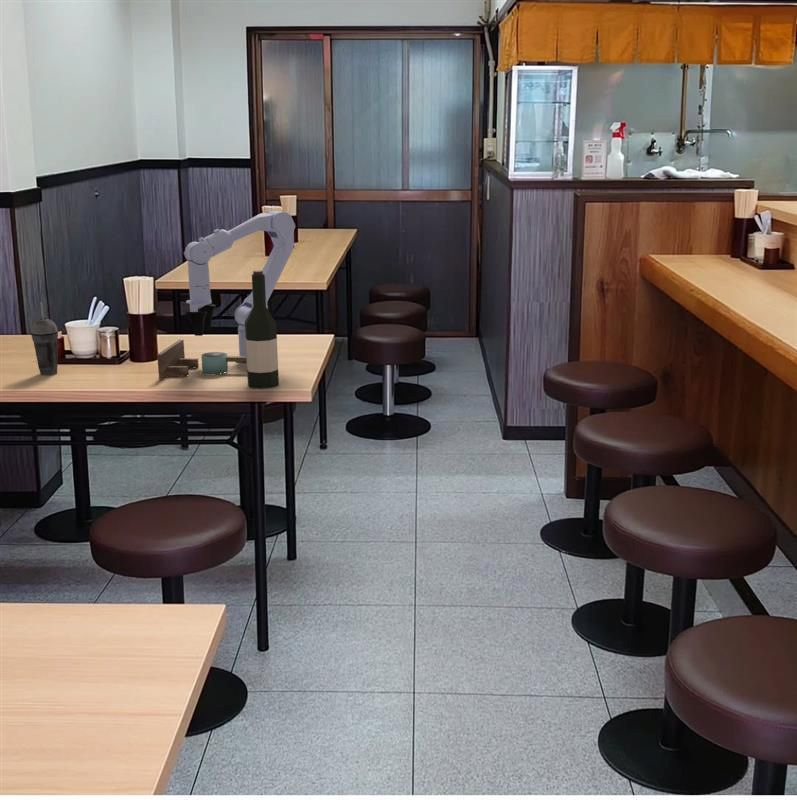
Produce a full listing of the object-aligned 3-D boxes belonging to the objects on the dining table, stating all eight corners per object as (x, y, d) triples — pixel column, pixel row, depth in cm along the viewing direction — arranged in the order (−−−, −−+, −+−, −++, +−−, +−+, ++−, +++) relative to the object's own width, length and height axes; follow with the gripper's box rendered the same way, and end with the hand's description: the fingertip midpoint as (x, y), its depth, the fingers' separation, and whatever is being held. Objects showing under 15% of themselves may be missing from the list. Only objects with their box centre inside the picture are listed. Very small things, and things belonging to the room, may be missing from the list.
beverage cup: (35, 377, 276) (27, 305, 271) (34, 372, 283) (26, 301, 278) (63, 375, 279) (56, 303, 274) (61, 369, 286) (54, 299, 280)
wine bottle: (251, 380, 270) (246, 268, 263) (282, 381, 269) (277, 268, 262) (243, 388, 262) (237, 273, 255) (275, 388, 261) (270, 273, 254)
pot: (199, 374, 278) (198, 357, 276) (206, 369, 284) (205, 351, 283) (249, 375, 276) (248, 357, 275) (255, 369, 283) (254, 352, 282)
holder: (203, 363, 291) (201, 339, 289) (182, 380, 272) (180, 354, 270) (181, 363, 292) (179, 339, 290) (159, 379, 272) (157, 354, 270)
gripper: (192, 281, 290) (195, 327, 294) (177, 289, 276) (181, 337, 280) (216, 281, 290) (219, 328, 293) (203, 289, 276) (206, 338, 279)
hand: (202, 332), depth 286 cm, fingers open, 7 cm apart
